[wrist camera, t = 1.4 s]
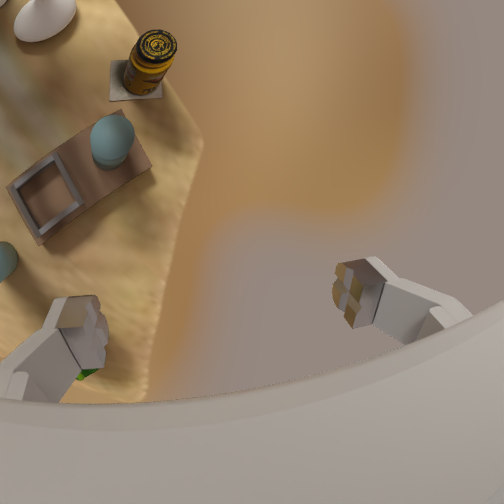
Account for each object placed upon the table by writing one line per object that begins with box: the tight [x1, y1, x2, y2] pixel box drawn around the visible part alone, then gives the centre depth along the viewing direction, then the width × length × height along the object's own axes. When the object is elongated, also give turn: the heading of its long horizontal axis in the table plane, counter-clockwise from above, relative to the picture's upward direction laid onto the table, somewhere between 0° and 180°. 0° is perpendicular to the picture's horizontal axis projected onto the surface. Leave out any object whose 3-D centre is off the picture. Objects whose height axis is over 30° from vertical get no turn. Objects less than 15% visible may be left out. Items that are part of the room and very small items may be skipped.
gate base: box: [6, 109, 152, 246], centre depth 31 cm, size 20×10×12 cm, turn 121°
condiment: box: [110, 30, 177, 101], centre depth 32 cm, size 7×8×12 cm
